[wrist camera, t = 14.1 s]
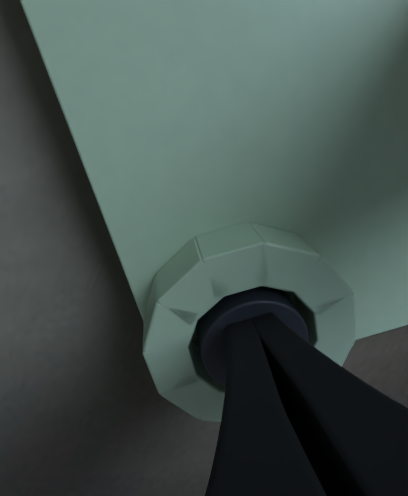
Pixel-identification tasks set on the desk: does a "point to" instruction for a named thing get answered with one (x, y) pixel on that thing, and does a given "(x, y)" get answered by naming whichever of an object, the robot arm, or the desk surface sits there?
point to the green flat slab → (241, 161)
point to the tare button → (239, 310)
